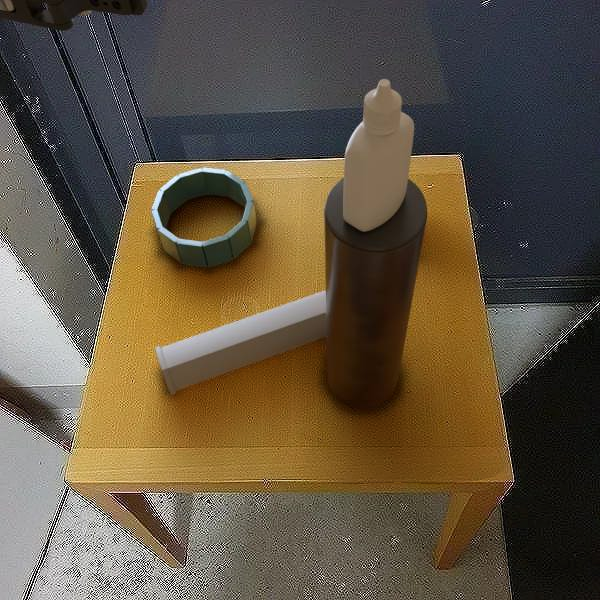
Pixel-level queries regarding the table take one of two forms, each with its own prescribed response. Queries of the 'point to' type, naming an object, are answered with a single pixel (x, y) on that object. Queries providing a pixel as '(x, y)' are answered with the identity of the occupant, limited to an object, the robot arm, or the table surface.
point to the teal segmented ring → (196, 186)
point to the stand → (369, 297)
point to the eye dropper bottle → (377, 160)
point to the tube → (243, 342)
